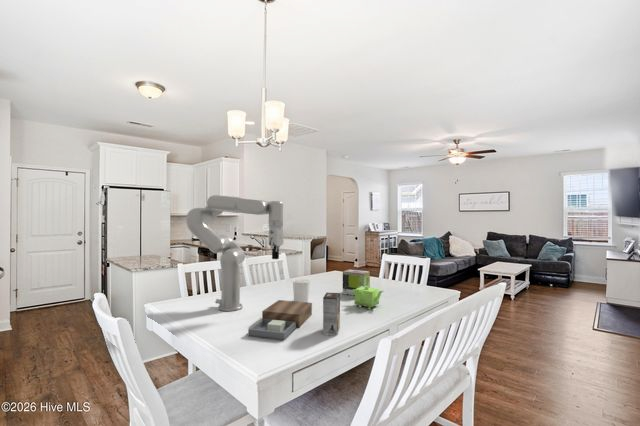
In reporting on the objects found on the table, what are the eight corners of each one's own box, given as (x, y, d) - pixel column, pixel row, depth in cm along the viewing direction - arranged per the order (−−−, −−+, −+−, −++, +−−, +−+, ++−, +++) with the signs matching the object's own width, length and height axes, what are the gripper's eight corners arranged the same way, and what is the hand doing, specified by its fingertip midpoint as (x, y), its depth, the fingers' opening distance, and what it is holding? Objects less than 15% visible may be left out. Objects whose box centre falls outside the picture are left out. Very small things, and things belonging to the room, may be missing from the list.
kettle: (384, 309, 177) (384, 288, 177) (359, 311, 174) (359, 290, 174) (373, 301, 192) (373, 282, 192) (350, 303, 189) (350, 283, 189)
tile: (273, 319, 148) (272, 326, 148) (267, 324, 142) (267, 330, 142) (285, 320, 146) (285, 327, 146) (280, 325, 140) (280, 332, 140)
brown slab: (262, 323, 152) (262, 311, 152) (278, 311, 172) (278, 300, 172) (299, 327, 148) (299, 314, 148) (311, 314, 167) (311, 302, 167)
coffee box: (325, 327, 149) (326, 291, 149) (340, 328, 148) (340, 292, 148) (322, 334, 140) (322, 297, 140) (337, 335, 139) (337, 297, 139)
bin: (248, 336, 137) (248, 329, 137) (262, 325, 151) (262, 318, 151) (284, 340, 133) (284, 333, 133) (295, 328, 146) (295, 322, 146)
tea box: (370, 294, 211) (370, 271, 210) (363, 297, 202) (363, 273, 202) (349, 291, 219) (349, 268, 218) (341, 294, 210) (342, 270, 210)
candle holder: (311, 302, 189) (312, 281, 189) (295, 304, 185) (295, 283, 185) (306, 298, 198) (306, 278, 198) (290, 300, 194) (290, 279, 194)
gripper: (276, 224, 166) (276, 261, 166) (287, 224, 180) (287, 257, 180) (263, 224, 168) (262, 260, 168) (274, 223, 182) (274, 256, 182)
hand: (275, 258), depth 174 cm, fingers closed
